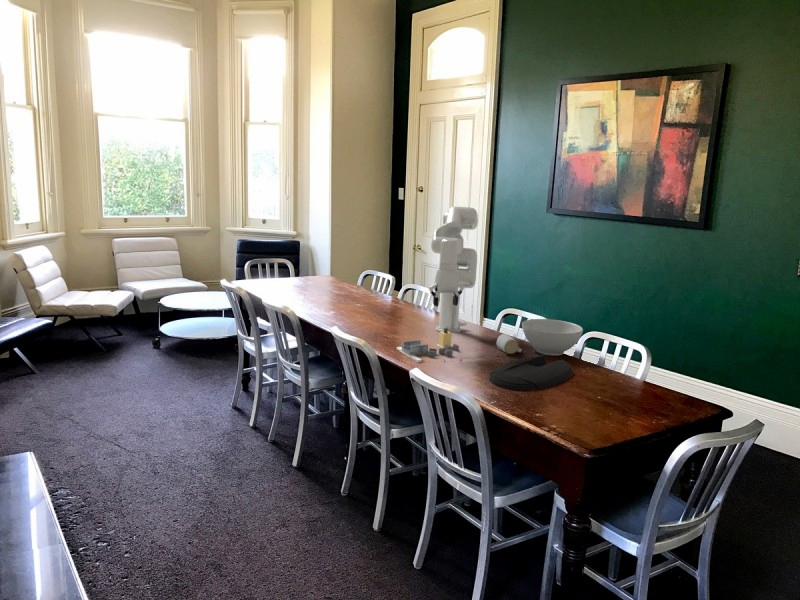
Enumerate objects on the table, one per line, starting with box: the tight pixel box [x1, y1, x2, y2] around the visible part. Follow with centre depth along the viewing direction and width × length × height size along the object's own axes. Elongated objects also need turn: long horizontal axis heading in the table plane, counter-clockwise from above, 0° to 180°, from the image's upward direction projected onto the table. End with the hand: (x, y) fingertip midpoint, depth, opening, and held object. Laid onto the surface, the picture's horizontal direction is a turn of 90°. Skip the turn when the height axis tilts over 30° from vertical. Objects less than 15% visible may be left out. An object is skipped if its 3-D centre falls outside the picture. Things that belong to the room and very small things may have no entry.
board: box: [396, 343, 460, 364], centre depth 267 cm, size 25×20×4 cm
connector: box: [438, 328, 453, 348], centre depth 275 cm, size 4×4×8 cm
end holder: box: [401, 339, 429, 356], centre depth 264 cm, size 8×8×4 cm
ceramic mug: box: [496, 333, 523, 355], centre depth 274 cm, size 11×8×8 cm
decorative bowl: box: [521, 318, 584, 356], centre depth 277 cm, size 27×27×12 cm
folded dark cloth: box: [489, 355, 574, 391], centre depth 242 cm, size 25×41×5 cm, turn 138°
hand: (445, 305), depth 273 cm, fingers open, 9 cm apart
